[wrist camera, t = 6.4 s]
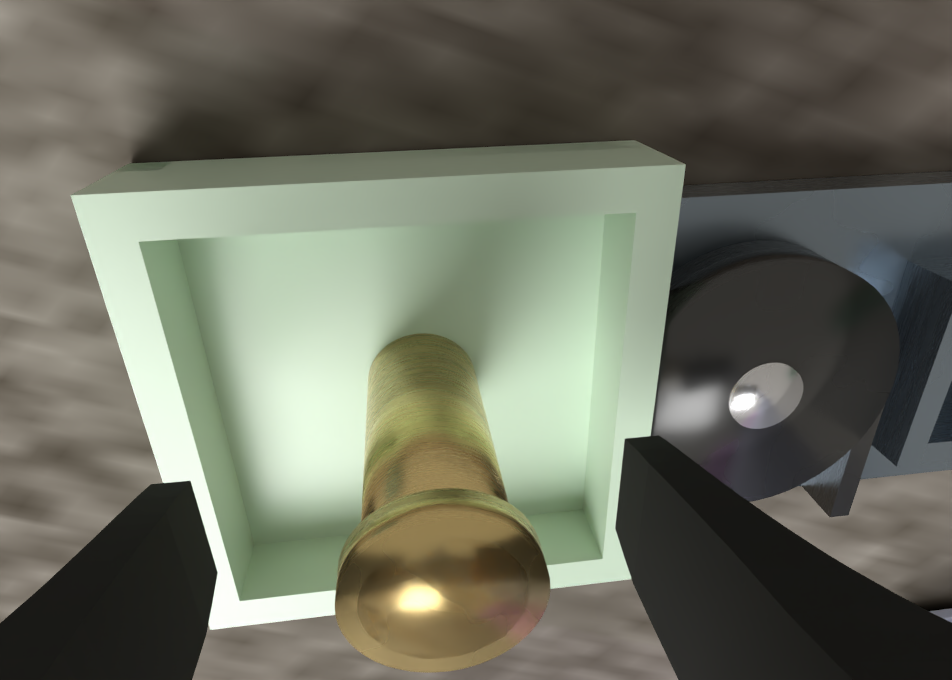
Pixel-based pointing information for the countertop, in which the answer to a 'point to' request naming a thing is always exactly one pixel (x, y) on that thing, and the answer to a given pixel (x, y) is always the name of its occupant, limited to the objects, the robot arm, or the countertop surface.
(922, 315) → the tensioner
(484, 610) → the pin
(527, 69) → the countertop surface
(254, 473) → the tray
